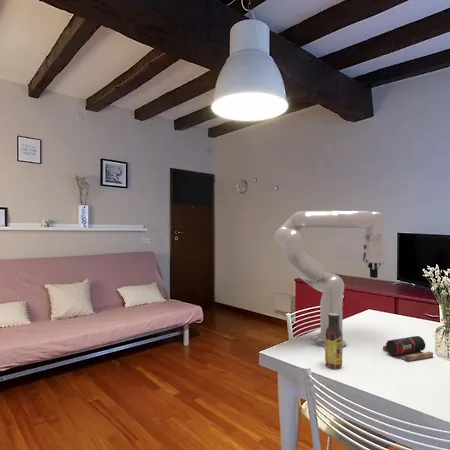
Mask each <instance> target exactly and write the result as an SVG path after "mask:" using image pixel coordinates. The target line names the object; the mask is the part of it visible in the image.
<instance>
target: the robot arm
mask: <svg viewBox="0 0 450 450" xmlns="http://www.w3.org/2000/svg"><path fill="white" fill-rule="evenodd" d="M344 229H364V236H363V239H364V240H363V245H362V255H361V256H362V261H363V263H362V264H363V265H364V266H367V268H368V269H369V277H370V278H372V279H378V278H379V277H378V273H379V272H378V271H379V269H380V266H383V265H384V263H385V262H386V260H387V253H386V245H385V241H383V212H381V211H370V210H302V211H301V210H299V211H297V212H294V213H293V214H292V215H291V216H290V217H289V218H288V219H287V220H286V221H285V222H284V223H283V224H282V225H281V226H280V227H279V228H277V230H276V231H275V234H274V237H273V238H274V242H275V244H276V245H278V246H279V247H282V248H283V253H284V254H283V255H284V259H285V261H286V263H288V264H289V265H290V266H291V267H292V268H294V272H295V274H296V275H297V277H298V278H299V279H300V280H302V281H304V283H306V284H307V285H308V286H311V288H313V289H314V290H316V291H319V292H320V293H322V295H321V299H320V305H319V306H320V312H319V313H320V314H319V315H320V317H319V319H320V332H318V334H317V335H314V336H311V337H310V339H311V341H312V342H315V341H316V343H317V344H318V345H319V346H321V347H323V348H325V337H326V329H327V328H328V326H329V324H328V323H329V318H328V314H329V313H337V314H339V328H340V330H341V333H342V348H345V347H346V346H347V341H346V340H345V339H343V300H344V299H343V297H344V292H345V283H344V281H343V279H342V278H341V277H340V276H339V275H337V274H335V273H332V272H326V271H325V269H324V266H323V265H322V264H321V263H320V262H318V261H317V260H316V259H314V258H313V257H312V256H310V255H309V253H306V251H304V249H303V246H302V235H301V231H302V230H306V231H307V230H308V231H309V230H310V231H311V230H315V231H316V230H344Z"/></svg>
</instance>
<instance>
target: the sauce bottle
mask: <svg viewBox="0 0 450 450" xmlns="http://www.w3.org/2000/svg"><path fill="white" fill-rule="evenodd" d="M328 318H329V323H328V324H329V326H328V328H327V329H326V337H325V347H324V359H325V360H324V361H325V366H326V367H327V368H330V369H334V370H337V369H341V368H342V366H343V347H342V333H343V332H342V333H341V330H340V328H339V314H337V313H329V314H328Z"/></svg>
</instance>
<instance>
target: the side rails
mask: <svg viewBox="0 0 450 450" xmlns="http://www.w3.org/2000/svg"><path fill="white" fill-rule="evenodd" d="M384 350H387V348H386V345H383V346H382V351H383V352H385V353H387V352H386V351H384ZM423 352H424V351H423ZM432 356H433V357H434V352H431V351H425V352H424V353H418V354H412V355H406V356H405V360H408V361H406V363H411V361H412V362H416V360H417V361H422V360H427V359H428V358H426V357H429V359H432V358H431V357H432ZM421 358H422V359H421ZM415 359H416V360H415ZM409 361H410V362H409Z"/></svg>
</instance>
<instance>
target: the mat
mask: <svg viewBox="0 0 450 450" xmlns="http://www.w3.org/2000/svg"><path fill="white" fill-rule="evenodd" d="M385 351H386V352H385ZM383 352H385V353H388V354H389V352H388V351H387V350H384V351H383ZM418 353H424V351H417V352H411V353H406V354H400V355H394V356H393V357H396V358H398V359H401V360H403V361H405V362H407V361H408V360H405V356H406V355H412V354H418ZM426 358H428V359H434V355H433V356H432V357H431V358H429V357H426ZM421 359H422V358H421ZM415 360H416V359H415ZM416 361H418V360H416ZM416 361H415V362H416ZM411 362H412V363H413V361H411ZM411 362H410V361H409V362H408V363H411Z"/></svg>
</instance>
